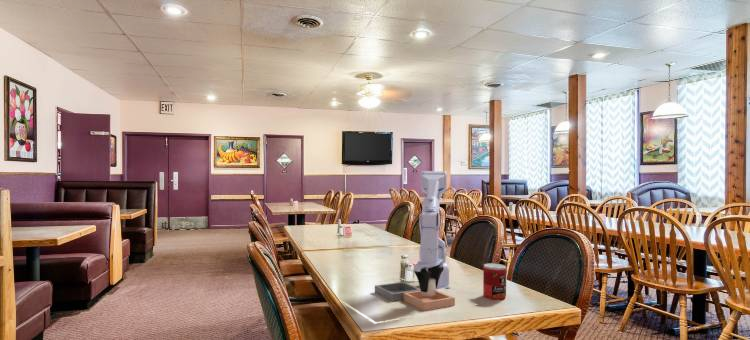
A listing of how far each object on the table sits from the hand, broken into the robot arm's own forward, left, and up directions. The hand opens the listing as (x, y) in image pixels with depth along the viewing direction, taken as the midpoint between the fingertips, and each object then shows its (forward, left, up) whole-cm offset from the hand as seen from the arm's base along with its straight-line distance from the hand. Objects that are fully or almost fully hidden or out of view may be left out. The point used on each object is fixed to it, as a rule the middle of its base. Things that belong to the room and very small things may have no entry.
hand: (428, 290), depth 139 cm
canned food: (-26, +3, -5) cm, 27 cm away
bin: (+4, -13, -5) cm, 14 cm away
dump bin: (0, 0, -5) cm, 5 cm away
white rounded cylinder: (0, 0, -2) cm, 2 cm away
